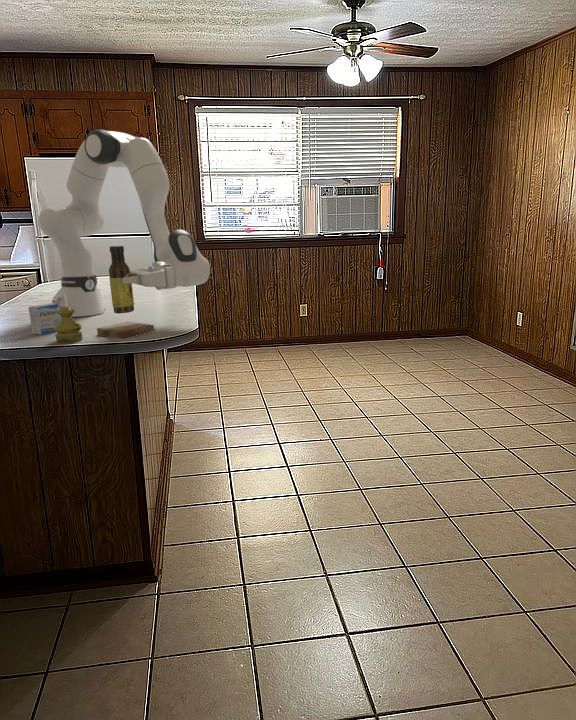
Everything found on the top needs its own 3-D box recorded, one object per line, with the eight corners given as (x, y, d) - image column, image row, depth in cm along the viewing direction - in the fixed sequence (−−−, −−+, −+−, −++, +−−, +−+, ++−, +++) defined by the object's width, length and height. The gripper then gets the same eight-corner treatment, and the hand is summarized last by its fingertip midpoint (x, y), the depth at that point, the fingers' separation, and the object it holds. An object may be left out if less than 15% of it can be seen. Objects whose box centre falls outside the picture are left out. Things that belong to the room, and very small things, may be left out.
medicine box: (40, 335, 175) (36, 307, 173) (32, 333, 177) (27, 306, 175) (62, 330, 181) (58, 303, 179) (53, 329, 184) (50, 302, 181)
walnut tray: (97, 334, 172) (96, 328, 172) (129, 327, 182) (128, 321, 181) (122, 339, 165) (122, 331, 165) (154, 331, 175) (153, 324, 174)
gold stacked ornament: (74, 343, 162) (70, 309, 159) (51, 343, 163) (46, 309, 160) (87, 337, 169) (83, 304, 166) (65, 337, 170) (60, 304, 167)
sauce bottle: (136, 312, 170) (129, 245, 165) (115, 315, 168) (107, 247, 162) (132, 309, 176) (125, 244, 171) (112, 311, 173) (104, 246, 168)
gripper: (148, 263, 184) (106, 266, 176) (173, 267, 167) (127, 271, 160) (150, 282, 185) (108, 286, 178) (175, 288, 169) (130, 293, 161)
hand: (117, 279), depth 169 cm, fingers closed on sauce bottle, 6 cm apart
